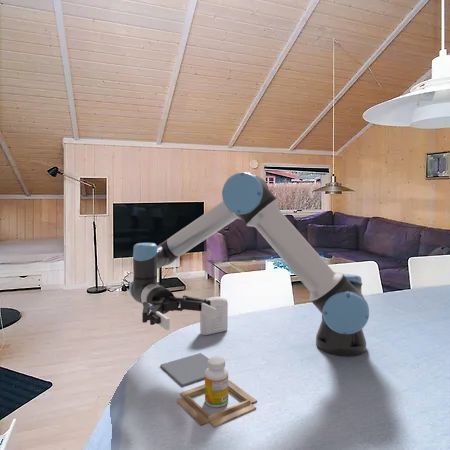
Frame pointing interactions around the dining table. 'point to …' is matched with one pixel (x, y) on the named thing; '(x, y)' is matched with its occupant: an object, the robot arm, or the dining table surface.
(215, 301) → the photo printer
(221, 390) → the supplement bottle
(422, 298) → the dining table surface
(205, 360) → the slate mat
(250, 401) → the square tan frame
